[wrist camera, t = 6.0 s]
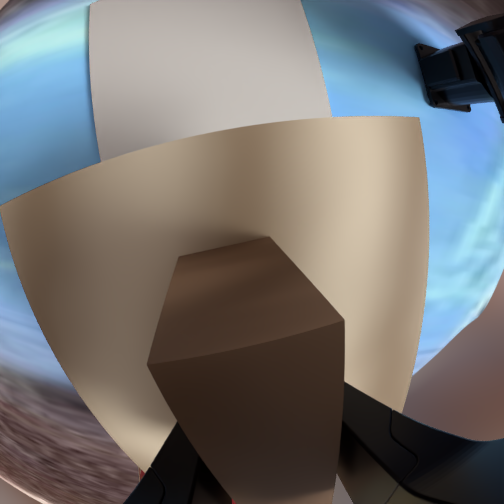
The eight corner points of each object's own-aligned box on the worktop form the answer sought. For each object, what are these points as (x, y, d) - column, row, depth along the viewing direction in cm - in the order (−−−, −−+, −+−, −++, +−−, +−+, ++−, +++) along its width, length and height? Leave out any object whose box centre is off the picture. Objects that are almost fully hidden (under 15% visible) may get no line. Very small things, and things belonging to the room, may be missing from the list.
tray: (287, -27, 13) (288, -30, 13) (333, 140, 18) (336, 140, 18) (91, 6, 12) (90, 4, 11) (108, 186, 17) (105, 187, 16)
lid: (401, 120, 8) (530, 108, 3) (393, 402, 12) (442, 468, 7) (15, 202, 7) (-101, 242, 2) (147, 459, 11) (141, 541, 6)
